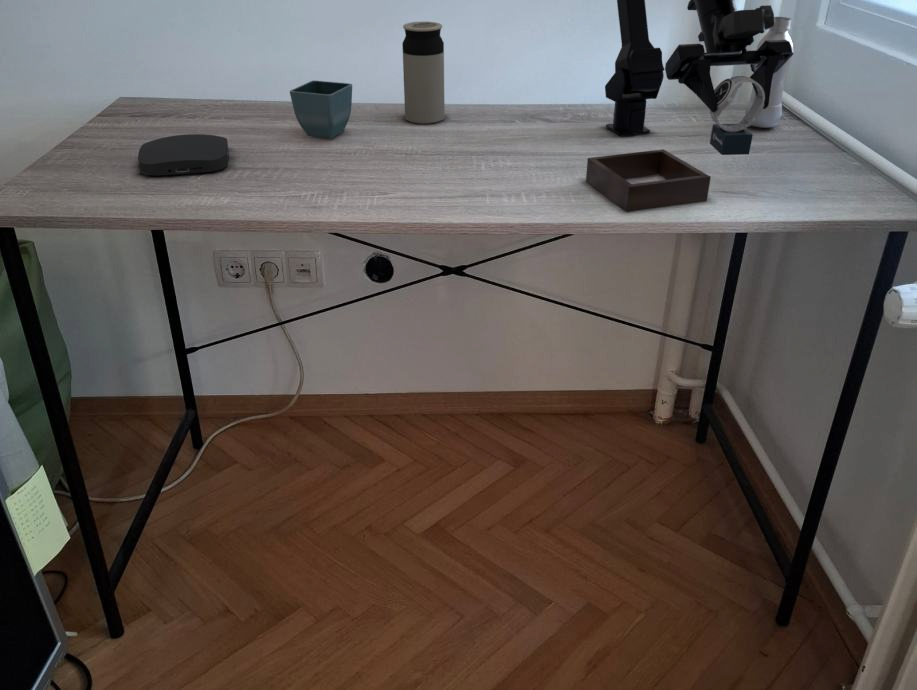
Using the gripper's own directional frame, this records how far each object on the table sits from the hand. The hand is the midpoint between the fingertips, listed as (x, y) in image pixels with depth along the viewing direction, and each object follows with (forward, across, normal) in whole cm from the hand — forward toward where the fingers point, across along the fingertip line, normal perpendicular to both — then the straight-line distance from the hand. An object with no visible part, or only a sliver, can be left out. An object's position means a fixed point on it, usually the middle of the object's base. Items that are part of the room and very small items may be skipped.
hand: (740, 109), depth 126 cm
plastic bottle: (-12, +23, +31) cm, 41 cm away
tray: (+8, -13, +11) cm, 18 cm away
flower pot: (-21, -61, +40) cm, 76 cm away
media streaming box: (-14, -86, +33) cm, 93 cm away
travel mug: (-25, -40, +45) cm, 65 cm away
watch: (+4, 0, +6) cm, 7 cm away
